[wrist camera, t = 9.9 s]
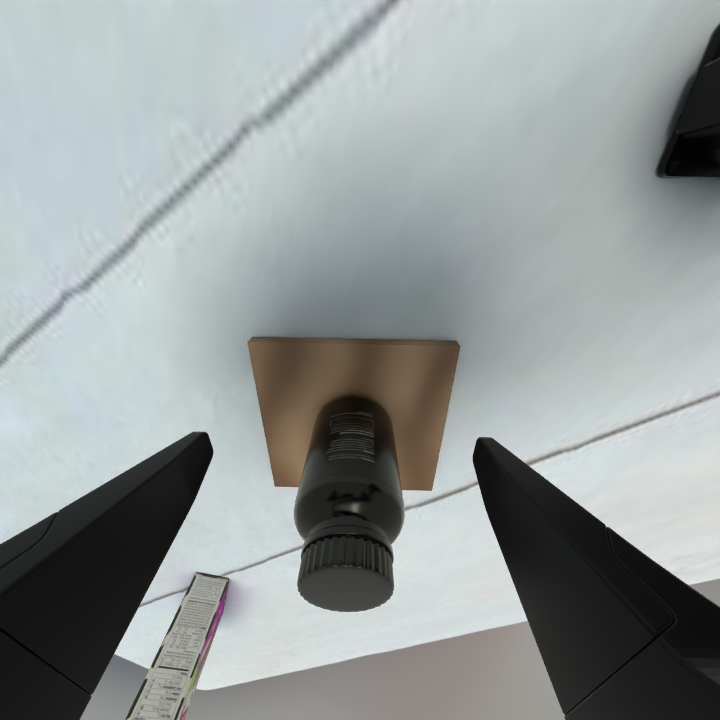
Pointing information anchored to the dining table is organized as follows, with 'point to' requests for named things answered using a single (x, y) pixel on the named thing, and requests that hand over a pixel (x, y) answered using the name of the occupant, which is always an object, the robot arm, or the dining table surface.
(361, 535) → the supplement bottle
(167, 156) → the dining table surface
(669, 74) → the dining table surface
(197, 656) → the candy bar box
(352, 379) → the walnut board
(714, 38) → the robot arm
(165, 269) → the dining table surface
